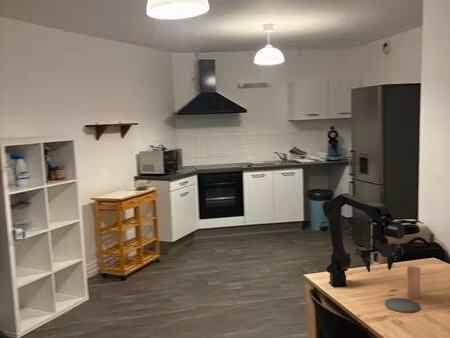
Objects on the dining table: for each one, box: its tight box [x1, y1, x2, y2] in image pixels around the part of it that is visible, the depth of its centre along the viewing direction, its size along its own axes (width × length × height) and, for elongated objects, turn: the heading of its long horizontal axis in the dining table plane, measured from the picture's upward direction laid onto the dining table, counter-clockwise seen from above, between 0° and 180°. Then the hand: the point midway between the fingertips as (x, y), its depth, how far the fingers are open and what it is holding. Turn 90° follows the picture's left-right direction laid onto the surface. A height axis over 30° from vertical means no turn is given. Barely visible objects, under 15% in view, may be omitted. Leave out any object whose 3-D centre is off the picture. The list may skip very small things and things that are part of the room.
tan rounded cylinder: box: [406, 265, 422, 300], centre depth 189 cm, size 5×5×12 cm
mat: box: [384, 297, 421, 314], centre depth 181 cm, size 13×13×1 cm
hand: (379, 271), depth 188 cm, fingers open, 9 cm apart
